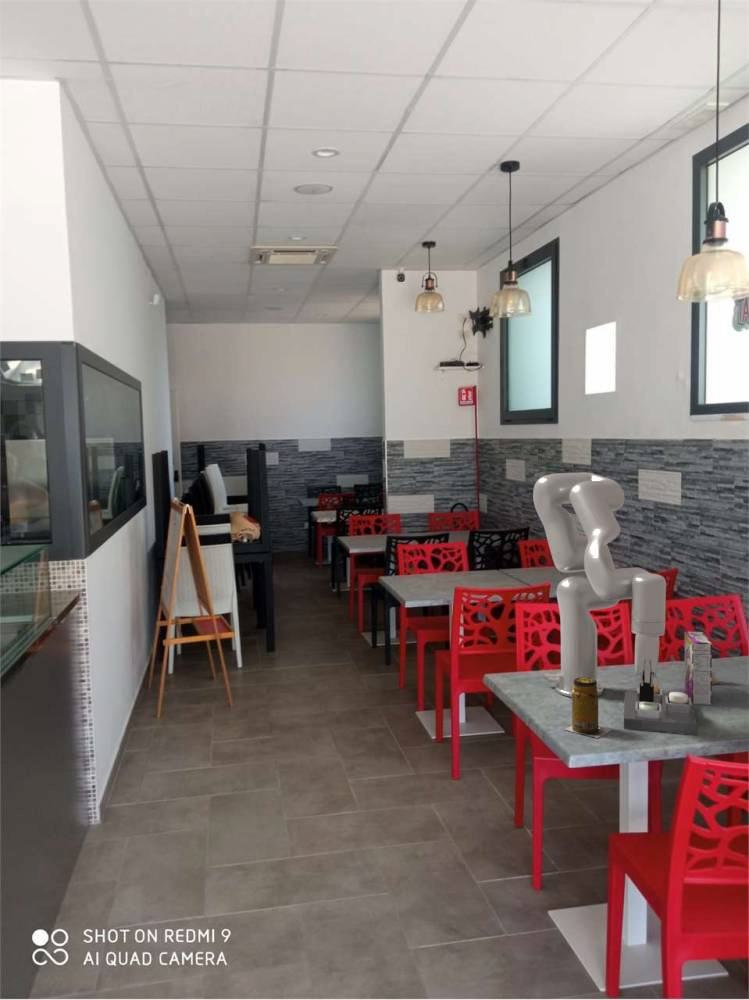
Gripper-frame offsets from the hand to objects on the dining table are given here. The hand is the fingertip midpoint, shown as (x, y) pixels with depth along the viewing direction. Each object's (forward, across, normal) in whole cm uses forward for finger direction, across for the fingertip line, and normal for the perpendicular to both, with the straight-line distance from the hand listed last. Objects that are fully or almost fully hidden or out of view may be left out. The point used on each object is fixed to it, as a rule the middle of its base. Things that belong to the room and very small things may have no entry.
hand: (646, 700), depth 187 cm
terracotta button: (+2, -11, +1) cm, 12 cm away
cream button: (+2, -5, +7) cm, 9 cm away
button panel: (+6, -5, +3) cm, 8 cm away
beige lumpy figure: (+6, -36, +15) cm, 40 cm away
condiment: (+6, +8, -13) cm, 16 cm away
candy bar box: (+6, -22, +13) cm, 27 cm away
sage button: (+3, +1, 0) cm, 3 cm away
